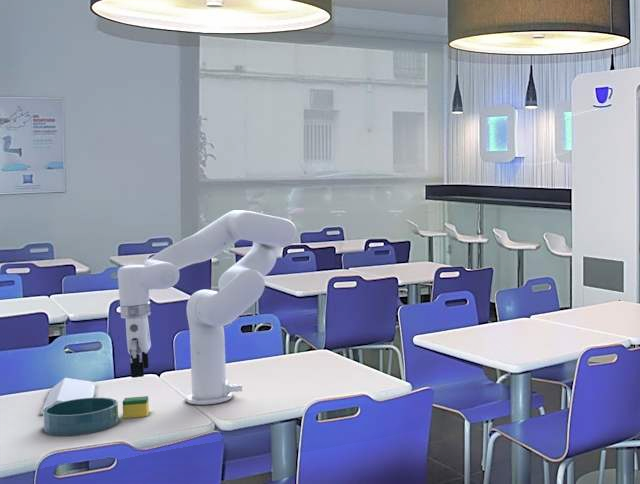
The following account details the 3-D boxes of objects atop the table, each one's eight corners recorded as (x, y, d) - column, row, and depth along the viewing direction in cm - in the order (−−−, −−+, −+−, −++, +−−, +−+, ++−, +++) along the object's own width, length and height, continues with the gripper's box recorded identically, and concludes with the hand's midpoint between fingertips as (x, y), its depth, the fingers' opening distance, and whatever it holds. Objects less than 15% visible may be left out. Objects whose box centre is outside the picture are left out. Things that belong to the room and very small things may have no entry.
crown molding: (90, 409, 244) (89, 396, 244) (41, 415, 240) (40, 402, 239) (94, 386, 271) (93, 374, 271) (50, 390, 267) (49, 379, 266)
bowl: (122, 413, 239) (122, 395, 239) (111, 432, 222) (110, 412, 222) (53, 418, 236) (52, 400, 235) (36, 438, 218) (35, 418, 218)
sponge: (148, 412, 240) (148, 396, 240) (146, 416, 236) (146, 399, 236) (125, 414, 239) (124, 397, 239) (123, 418, 235) (122, 401, 235)
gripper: (145, 314, 231) (150, 378, 232) (153, 304, 247) (158, 363, 249) (115, 317, 229) (120, 382, 230) (125, 306, 246) (130, 366, 247)
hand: (140, 372), depth 239 cm, fingers open, 9 cm apart
